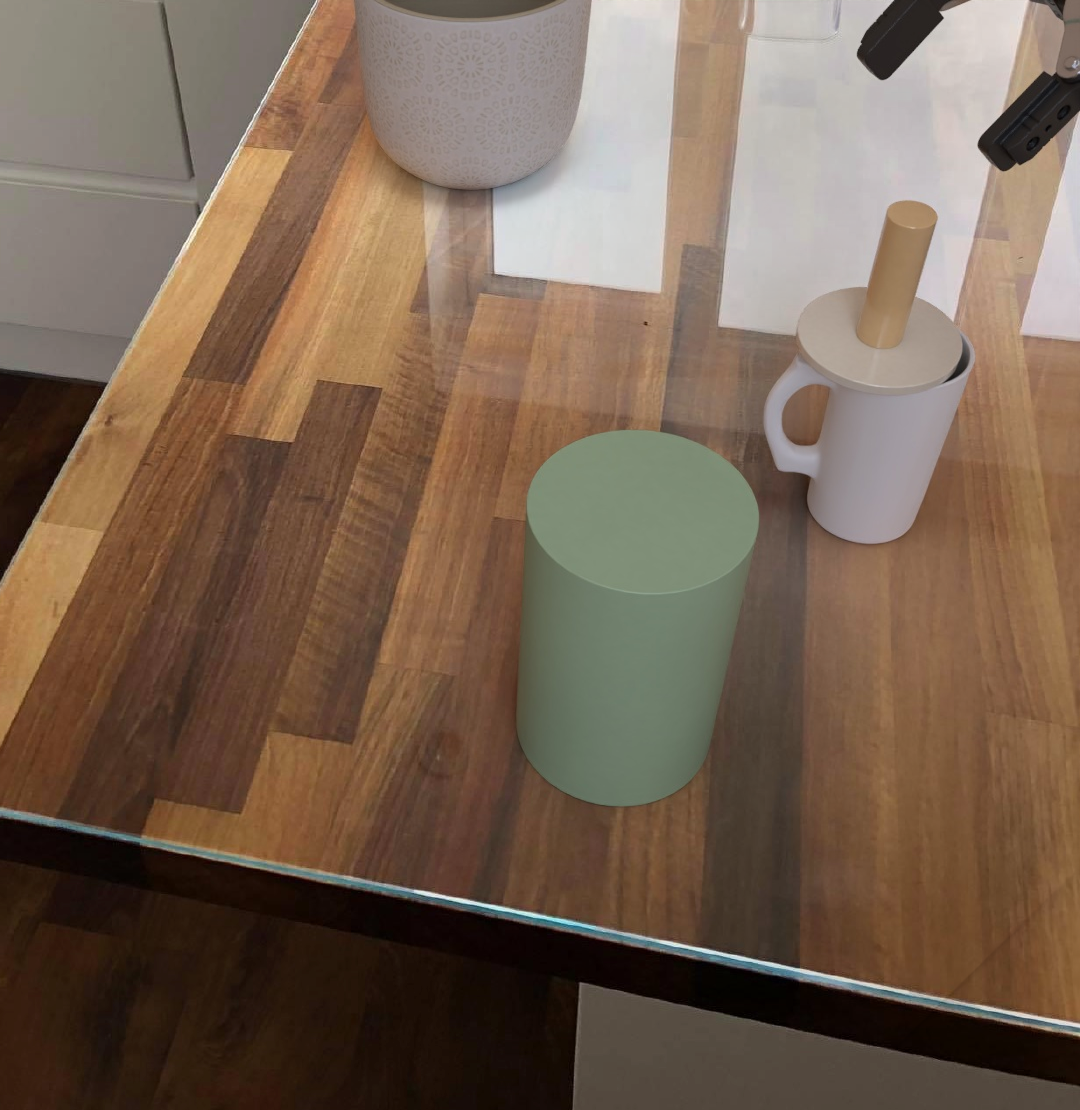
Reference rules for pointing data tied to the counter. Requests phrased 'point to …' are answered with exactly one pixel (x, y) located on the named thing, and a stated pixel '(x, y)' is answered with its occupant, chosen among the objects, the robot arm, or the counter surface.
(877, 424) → the mug
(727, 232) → the counter surface
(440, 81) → the planter
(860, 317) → the lid
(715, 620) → the cylinder
